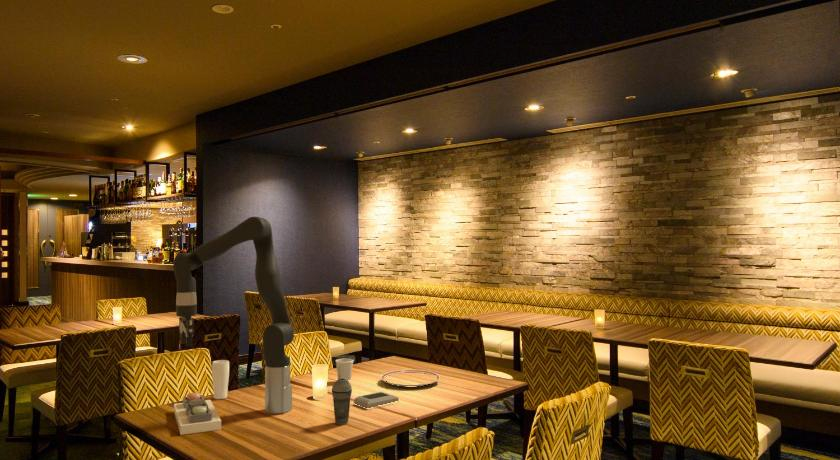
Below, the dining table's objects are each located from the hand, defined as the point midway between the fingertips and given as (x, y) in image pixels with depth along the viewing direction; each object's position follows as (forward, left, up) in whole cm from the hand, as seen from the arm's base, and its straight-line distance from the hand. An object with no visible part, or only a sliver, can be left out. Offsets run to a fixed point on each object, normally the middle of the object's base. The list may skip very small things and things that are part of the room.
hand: (186, 345), depth 231 cm
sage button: (-23, +21, -19) cm, 37 cm away
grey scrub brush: (-69, -27, -24) cm, 78 cm away
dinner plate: (-70, -65, -24) cm, 99 cm away
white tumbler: (-5, -14, -24) cm, 28 cm away
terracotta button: (-9, +7, -19) cm, 22 cm away
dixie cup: (-41, -56, -24) cm, 74 cm away
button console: (-16, +14, -24) cm, 32 cm away
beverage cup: (-67, 0, -24) cm, 71 cm away
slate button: (-16, +14, -19) cm, 29 cm away
